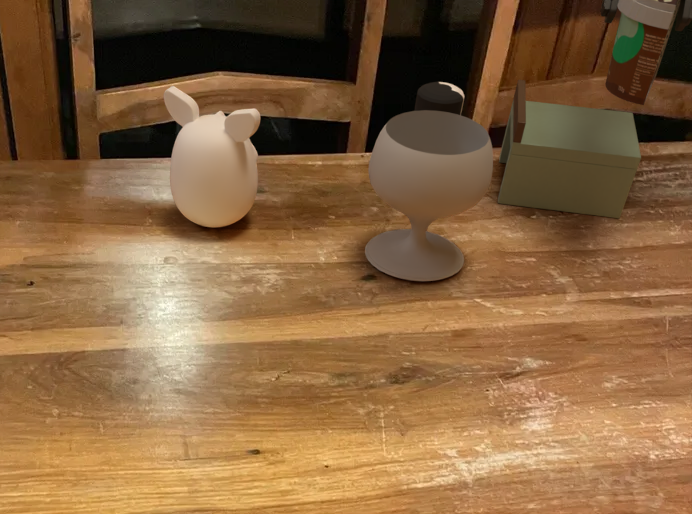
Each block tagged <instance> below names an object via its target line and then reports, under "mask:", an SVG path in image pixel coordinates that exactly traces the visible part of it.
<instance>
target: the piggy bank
mask: <svg viewBox="0 0 692 514" xmlns="http://www.w3.org/2000/svg"><path fill="white" fill-rule="evenodd" d="M163 102H164V105H165V108H166V110H167V112H168V113H169V115H170V117H171V118H172V119H173V120H174V121H175V123H177V124H178V125H180V126H181V127H182V128H181V129H180V130H179V132H178V134H177V135H176V137H175V141H174V144H173V147H172V152H171V157H170V163H169V165H170V166H169V186H170V192H171V196H172V200H173V203H174V204H175V206H176V208H177V210H178V211H179V212H180V213H181V215H183V217H185V218H186V219H187V220H189V221H190V222H192V223H194V224H195V225H198V226H201V227H207V228H224V227H227V226H230V225H232V224H235V223H236V222H239V221H240V220H241V219H243V218H244V217H246V215H247V214H248V212H250V210H251V209H252V208H253V205H254V203H255V200H256V197H257V194H258V189H259V174H258V173H259V172H258V171H259V170H258V165H257V163H258V160H259V154H258V151H257V150H256V147H255V146H254V145H253V143H252V140H251V139H250V138H251V137H252V136H253V135H254V134H255V133H256V132H257V131H258V129H259V127H260V124H261V114H260V111H259V110H258V109H257V108H242V109H236V110H234V111H232V112H231V113H229V114H228V115H227V116H226V115H225V113H224V111H222V110H219V111H217V112H216V113H214V114H213V113H211V114H204V115H200V108H199V105H198V103H197V101H196V100H195V99H194V98H192V96H190V95H189V94H187V93H186V92H185V91H182V90H181V89H179V88H177V87H176V86H174V85H171V86H170V87H169V88H167V89H165V90H164V92H163Z"/></svg>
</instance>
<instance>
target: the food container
mask: <svg viewBox="0 0 692 514" xmlns="http://www.w3.org/2000/svg"><path fill="white" fill-rule="evenodd" d="M679 5H680V0H619V1H618V5H617V10H618V11H619V12H620V17H619V21H618V26H617V30H616V34H615V39H614V44H613V47H612V53H611V57H610V62H609V65H608V70H607V73H606V79H605V84H604V85H605V88H606V90H607V91H608V92H609V93H610V94H612V95H613V96H614V97H616V98H619V99H621V100H623V101H626V102H628V103H633V104H636V105H641V106H644V105H645V104H646V101H647V98H648V96H649V93H650V91H651V89H652V86H653V84H654V82H655V79H656V77H657V74H658V71H659V68H660V65H661V62H662V59H663V56H664V54H665V50H666V47H667V44H668V41H669V37H670V35H671V32H672V29H673V26H674V24H675V23H674V22H675V21H676V18H677V15H678V10H679Z"/></svg>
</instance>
